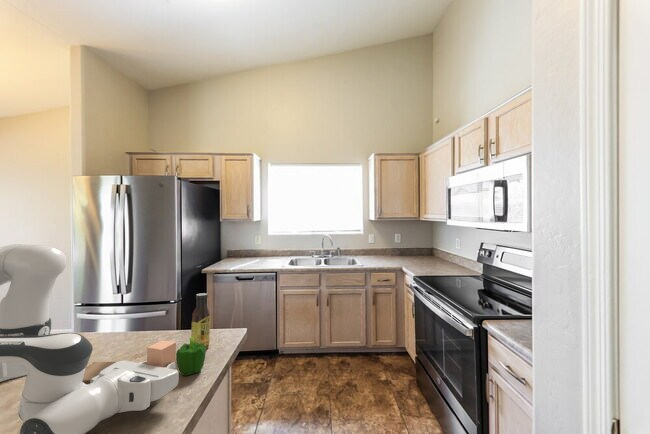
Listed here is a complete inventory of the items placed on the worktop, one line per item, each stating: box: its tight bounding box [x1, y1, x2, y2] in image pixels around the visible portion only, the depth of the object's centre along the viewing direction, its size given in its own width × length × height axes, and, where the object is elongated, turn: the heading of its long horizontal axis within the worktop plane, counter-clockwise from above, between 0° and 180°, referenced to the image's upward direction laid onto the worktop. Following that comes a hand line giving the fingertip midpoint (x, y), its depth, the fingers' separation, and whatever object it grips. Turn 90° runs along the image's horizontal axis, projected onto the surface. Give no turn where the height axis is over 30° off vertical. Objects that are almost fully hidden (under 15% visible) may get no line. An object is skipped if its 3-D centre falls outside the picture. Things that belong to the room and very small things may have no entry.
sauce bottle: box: [190, 292, 211, 350], centre depth 106 cm, size 7×6×20 cm
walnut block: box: [82, 361, 117, 384], centre depth 80 cm, size 10×10×5 cm
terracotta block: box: [146, 340, 177, 370], centre depth 81 cm, size 5×5×12 cm
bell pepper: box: [176, 336, 207, 376], centre depth 90 cm, size 8×8×10 cm
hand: (164, 362), depth 82 cm, fingers closed on terracotta block, 5 cm apart
